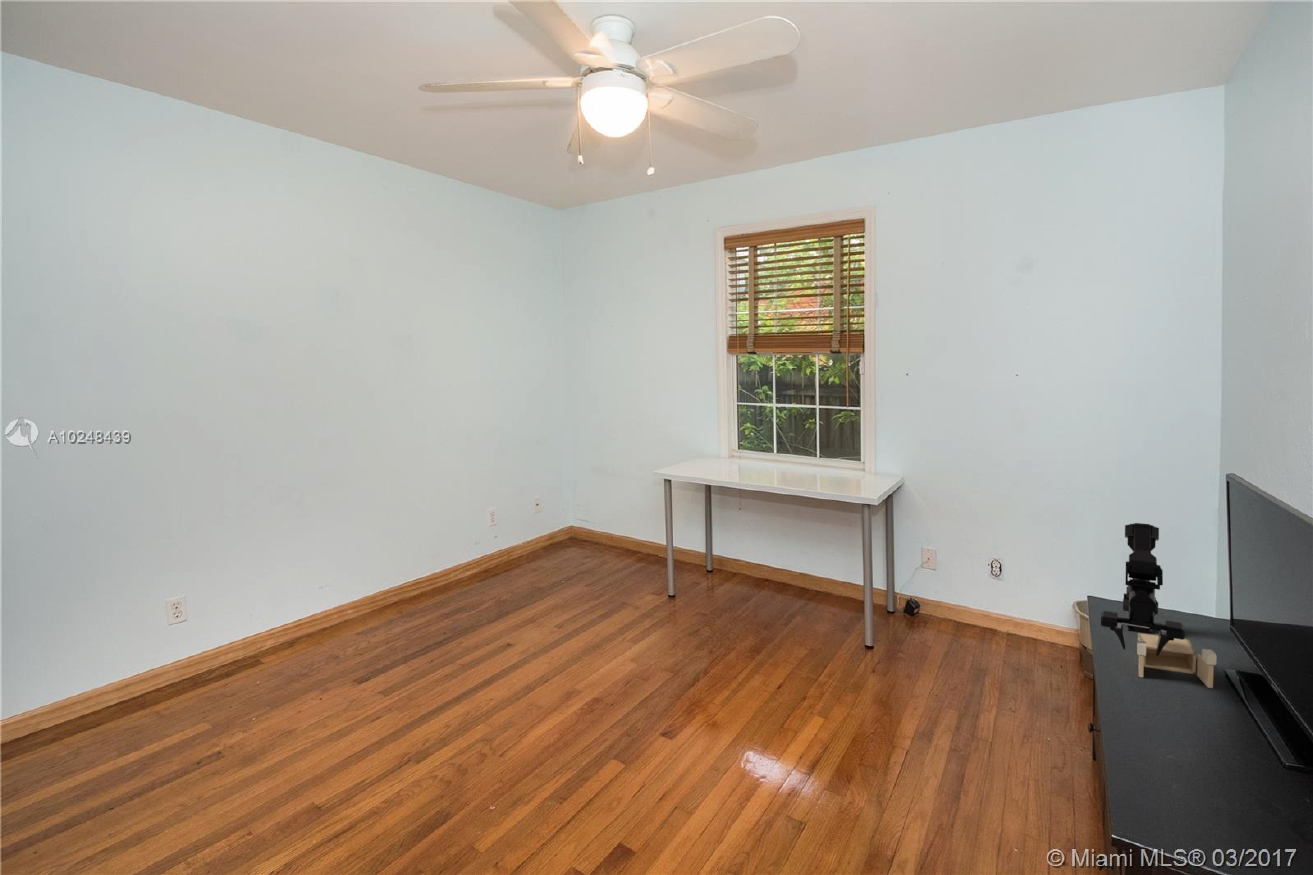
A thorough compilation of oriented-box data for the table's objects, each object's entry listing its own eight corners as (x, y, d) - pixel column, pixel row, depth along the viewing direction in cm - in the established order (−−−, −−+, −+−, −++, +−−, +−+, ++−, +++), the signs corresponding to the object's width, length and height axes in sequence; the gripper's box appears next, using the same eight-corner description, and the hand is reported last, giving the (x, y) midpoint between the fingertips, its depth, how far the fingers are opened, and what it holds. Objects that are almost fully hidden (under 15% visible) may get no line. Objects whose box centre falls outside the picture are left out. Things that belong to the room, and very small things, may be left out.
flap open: (1206, 687, 167) (1207, 654, 165) (1194, 675, 173) (1196, 643, 171) (1215, 688, 166) (1216, 654, 165) (1203, 676, 172) (1204, 643, 171)
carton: (1137, 652, 187) (1137, 632, 187) (1187, 659, 181) (1188, 639, 180) (1142, 666, 180) (1143, 645, 179) (1195, 674, 174) (1196, 653, 173)
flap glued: (1145, 667, 179) (1145, 636, 177) (1145, 678, 174) (1146, 646, 172) (1136, 666, 180) (1137, 635, 178) (1136, 676, 175) (1137, 644, 173)
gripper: (1182, 596, 173) (1181, 647, 175) (1102, 586, 184) (1101, 633, 187) (1185, 611, 164) (1183, 664, 166) (1101, 599, 176) (1100, 649, 178)
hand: (1140, 652), depth 175 cm, fingers open, 7 cm apart
